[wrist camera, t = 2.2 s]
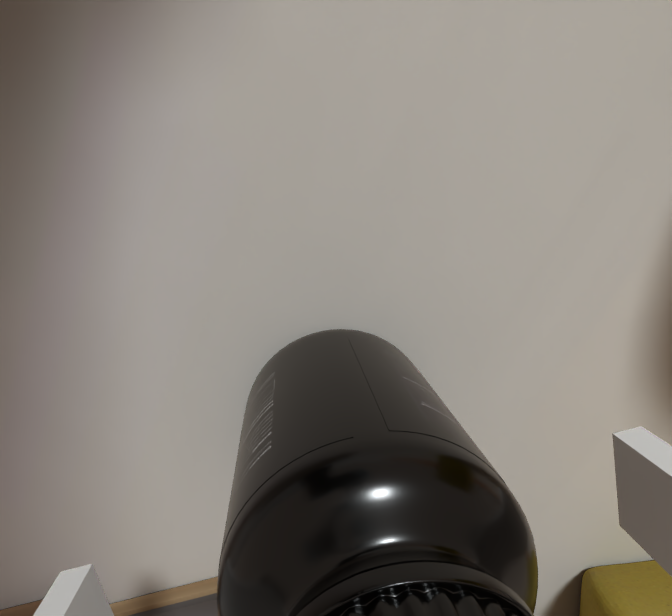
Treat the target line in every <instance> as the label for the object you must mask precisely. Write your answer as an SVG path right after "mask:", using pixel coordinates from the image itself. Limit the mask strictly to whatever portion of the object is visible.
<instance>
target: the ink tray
mask: <svg viewBox="0 0 672 616" xmlns="http://www.w3.org/2000/svg"><path fill="white" fill-rule="evenodd" d="M42 601H43V600H39V601H35V602H31V603H27V604H23V605H19V606H15V607H11V608H7V609H3V610H0V616H33V615H34V613H35V612H36V610H37V609H38V607H39V605H40V604H41V602H42Z"/></svg>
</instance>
